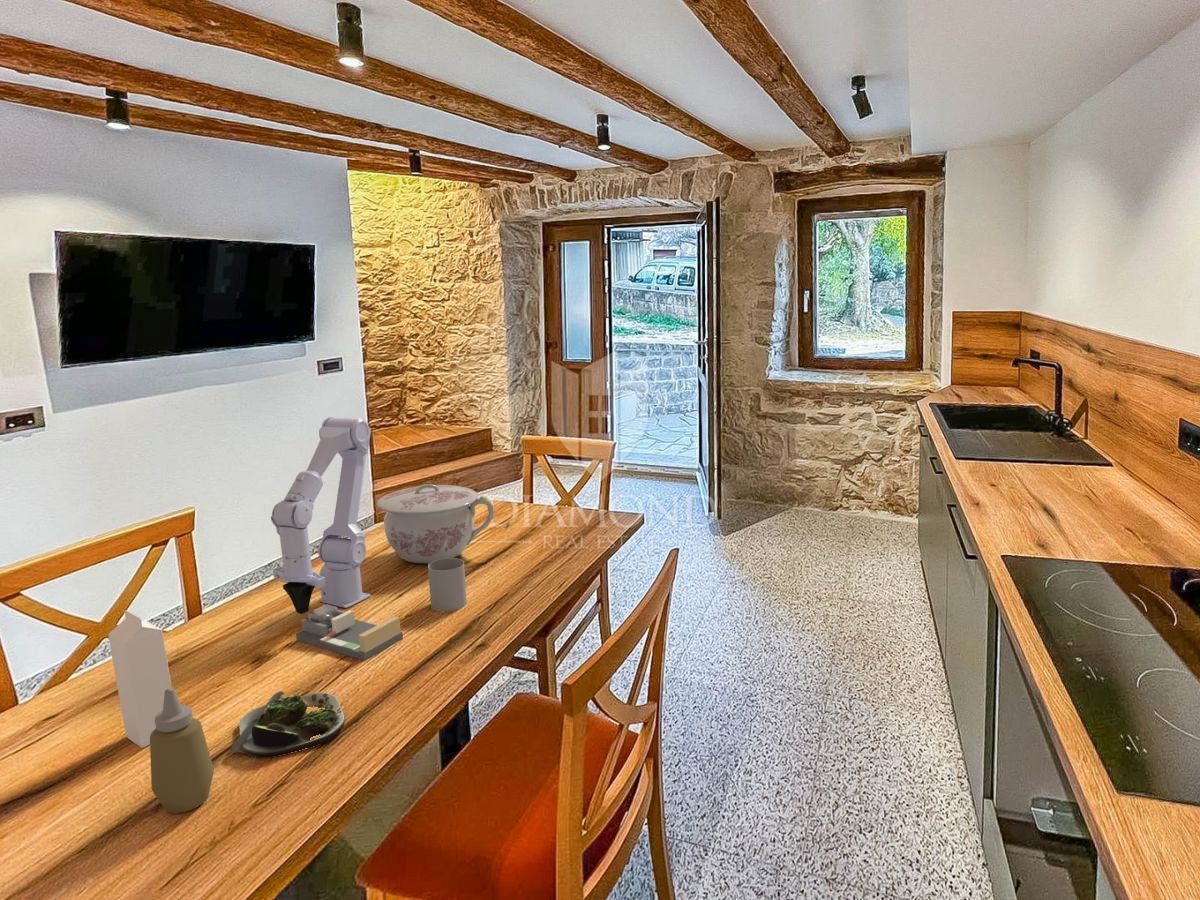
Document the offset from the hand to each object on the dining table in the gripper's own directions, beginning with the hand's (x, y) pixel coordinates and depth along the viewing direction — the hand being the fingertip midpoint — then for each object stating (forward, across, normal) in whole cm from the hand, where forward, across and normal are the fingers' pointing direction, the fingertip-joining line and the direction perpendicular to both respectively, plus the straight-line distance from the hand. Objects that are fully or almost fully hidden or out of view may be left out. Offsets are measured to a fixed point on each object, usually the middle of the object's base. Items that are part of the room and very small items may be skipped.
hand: (302, 612), depth 169 cm
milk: (+4, +11, -41) cm, 43 cm away
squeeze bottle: (+4, +33, -49) cm, 59 cm away
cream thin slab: (+1, +13, -1) cm, 13 cm away
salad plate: (+4, +31, -29) cm, 43 cm away
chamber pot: (+4, -5, +48) cm, 48 cm away
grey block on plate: (+2, +8, 0) cm, 8 cm away
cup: (+4, +21, +24) cm, 32 cm away
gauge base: (+3, +14, 0) cm, 15 cm away
